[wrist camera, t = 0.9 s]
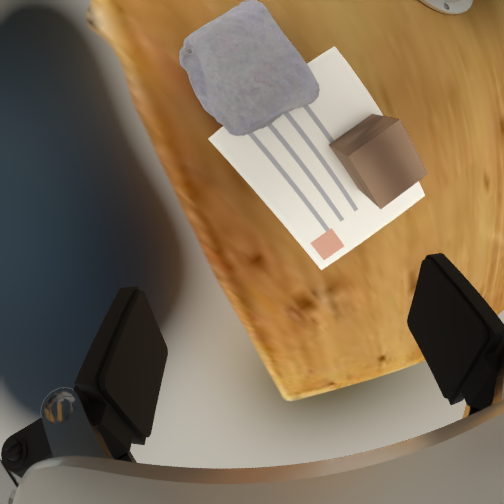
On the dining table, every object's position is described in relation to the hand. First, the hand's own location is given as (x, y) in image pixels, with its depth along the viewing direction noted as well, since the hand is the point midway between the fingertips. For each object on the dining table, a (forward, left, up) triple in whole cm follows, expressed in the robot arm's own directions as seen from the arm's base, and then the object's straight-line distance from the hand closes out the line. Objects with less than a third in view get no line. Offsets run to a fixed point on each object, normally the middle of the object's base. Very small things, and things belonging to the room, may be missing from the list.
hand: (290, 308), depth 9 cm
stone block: (-5, -8, -22) cm, 24 cm away
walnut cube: (-10, +6, -22) cm, 25 cm away
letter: (-6, +5, -22) cm, 23 cm away
